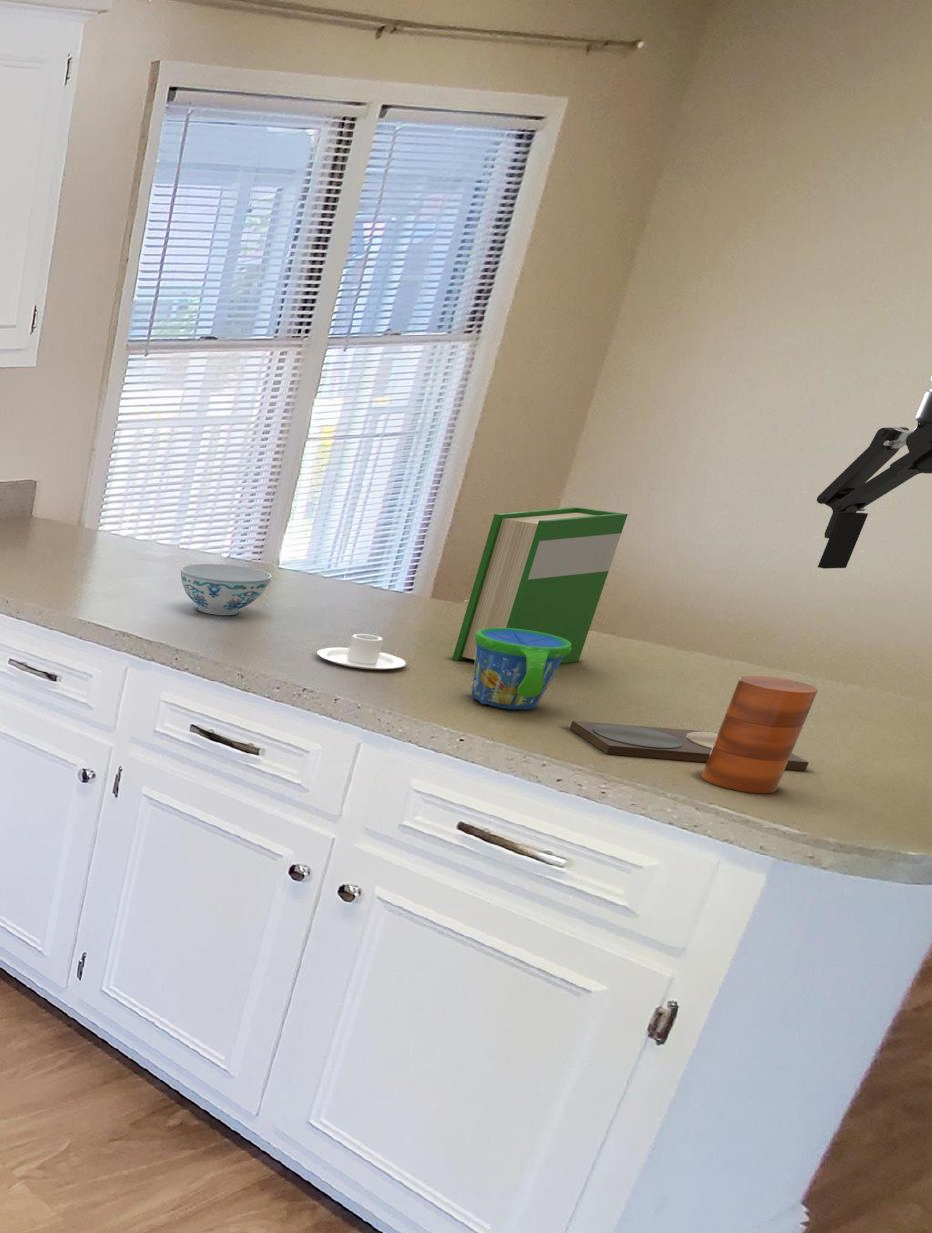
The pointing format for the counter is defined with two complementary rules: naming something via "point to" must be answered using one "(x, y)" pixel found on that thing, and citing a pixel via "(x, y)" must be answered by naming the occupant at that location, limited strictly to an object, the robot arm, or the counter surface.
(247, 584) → the chinaware
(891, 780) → the counter surface
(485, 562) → the hardback book
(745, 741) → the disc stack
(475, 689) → the snack cup
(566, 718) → the counter surface
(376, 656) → the candle holder
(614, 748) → the board
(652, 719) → the counter surface
